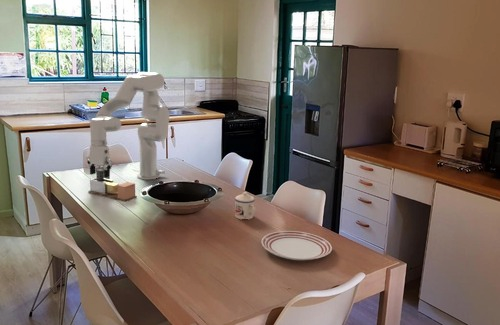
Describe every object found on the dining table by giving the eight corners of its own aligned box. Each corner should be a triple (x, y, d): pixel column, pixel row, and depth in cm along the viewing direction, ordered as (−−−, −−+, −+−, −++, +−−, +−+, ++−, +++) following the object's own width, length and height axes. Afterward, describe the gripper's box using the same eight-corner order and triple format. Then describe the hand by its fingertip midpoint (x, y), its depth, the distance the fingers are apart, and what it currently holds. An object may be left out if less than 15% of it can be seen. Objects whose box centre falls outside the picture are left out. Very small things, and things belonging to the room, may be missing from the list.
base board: (88, 192, 241) (88, 191, 241) (99, 189, 248) (99, 187, 248) (125, 202, 230) (125, 200, 230) (136, 197, 237) (136, 195, 237)
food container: (107, 186, 254) (107, 168, 251) (96, 185, 254) (95, 167, 251) (114, 180, 265) (114, 162, 263) (103, 179, 266) (103, 162, 263)
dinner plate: (287, 231, 203) (287, 224, 202) (344, 250, 186) (344, 242, 186) (246, 251, 182) (247, 243, 182) (306, 274, 166) (307, 265, 165)
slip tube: (93, 189, 242) (92, 170, 239) (99, 187, 245) (98, 168, 243) (113, 193, 236) (112, 174, 233) (119, 191, 239) (118, 172, 237)
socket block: (117, 197, 233) (117, 185, 231) (127, 194, 239) (127, 181, 237) (125, 199, 231) (125, 187, 229) (135, 196, 237) (135, 183, 235)
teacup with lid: (230, 215, 219) (231, 191, 216) (245, 211, 224) (246, 188, 221) (246, 223, 209) (247, 198, 207) (261, 219, 215) (263, 195, 212)
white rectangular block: (90, 190, 242) (90, 179, 240) (99, 187, 247) (98, 176, 245) (105, 194, 237) (104, 182, 236) (113, 191, 242) (113, 180, 241)
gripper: (117, 143, 236) (118, 176, 240) (91, 139, 243) (93, 171, 248) (106, 146, 229) (107, 180, 233) (80, 141, 237) (81, 174, 241)
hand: (99, 175), depth 241 cm, fingers open, 9 cm apart
